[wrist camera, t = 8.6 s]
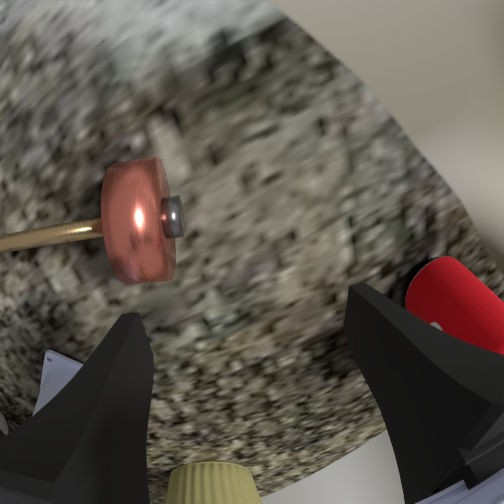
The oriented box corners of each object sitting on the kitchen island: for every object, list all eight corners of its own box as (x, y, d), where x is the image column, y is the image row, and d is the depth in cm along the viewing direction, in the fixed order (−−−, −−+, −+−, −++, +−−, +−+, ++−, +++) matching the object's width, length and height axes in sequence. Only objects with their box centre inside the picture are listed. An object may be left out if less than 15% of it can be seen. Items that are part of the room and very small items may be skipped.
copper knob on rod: (-21, 271, 18) (-60, 319, 13) (-46, 198, 15) (-97, 235, 10) (191, 243, 19) (188, 304, 14) (177, 144, 17) (165, 171, 11)
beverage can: (398, 321, 26) (467, 426, 16) (403, 263, 23) (498, 372, 13) (451, 300, 26) (525, 388, 16) (461, 244, 23) (557, 330, 13)
